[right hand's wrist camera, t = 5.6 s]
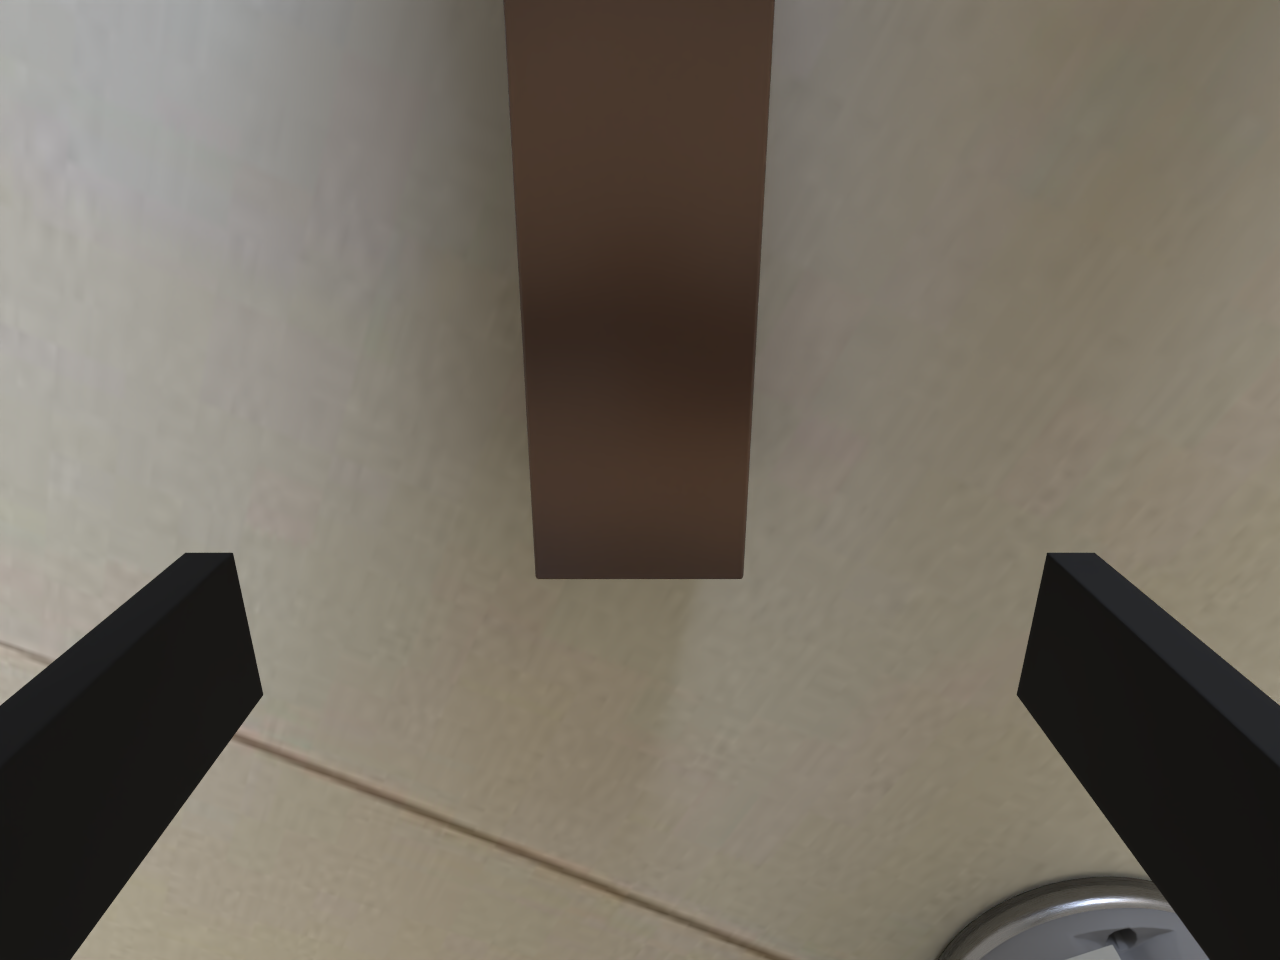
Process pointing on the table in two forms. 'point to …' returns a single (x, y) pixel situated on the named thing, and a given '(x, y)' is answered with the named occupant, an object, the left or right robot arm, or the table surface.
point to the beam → (639, 276)
